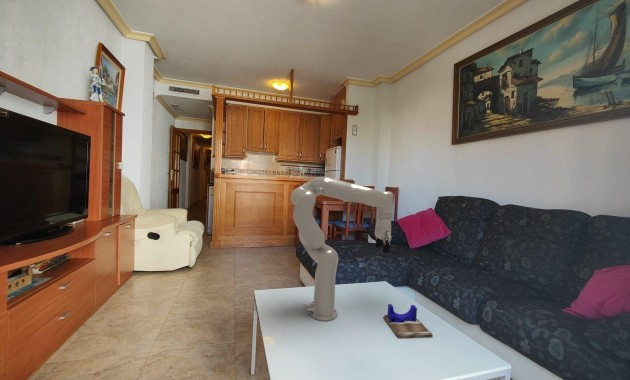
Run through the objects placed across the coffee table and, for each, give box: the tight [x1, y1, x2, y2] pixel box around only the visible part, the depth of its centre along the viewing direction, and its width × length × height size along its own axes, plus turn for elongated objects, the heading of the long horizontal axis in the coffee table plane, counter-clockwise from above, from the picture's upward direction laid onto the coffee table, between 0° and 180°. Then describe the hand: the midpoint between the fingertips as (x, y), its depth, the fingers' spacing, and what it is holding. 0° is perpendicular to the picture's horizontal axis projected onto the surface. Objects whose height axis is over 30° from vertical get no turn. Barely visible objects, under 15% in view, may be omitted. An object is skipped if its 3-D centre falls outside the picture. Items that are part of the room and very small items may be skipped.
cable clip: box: [387, 303, 418, 323], centre depth 117 cm, size 12×4×6 cm, turn 91°
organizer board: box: [382, 313, 433, 339], centre depth 114 cm, size 15×15×2 cm
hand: (382, 249), depth 132 cm, fingers open, 9 cm apart
